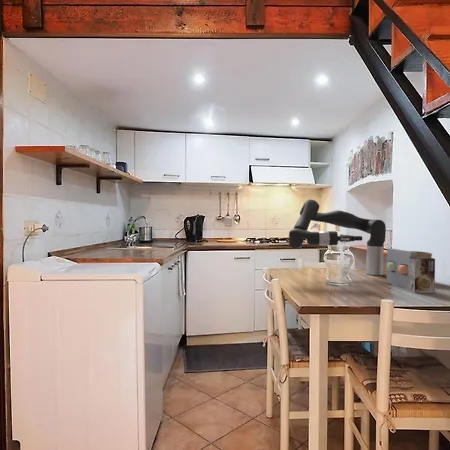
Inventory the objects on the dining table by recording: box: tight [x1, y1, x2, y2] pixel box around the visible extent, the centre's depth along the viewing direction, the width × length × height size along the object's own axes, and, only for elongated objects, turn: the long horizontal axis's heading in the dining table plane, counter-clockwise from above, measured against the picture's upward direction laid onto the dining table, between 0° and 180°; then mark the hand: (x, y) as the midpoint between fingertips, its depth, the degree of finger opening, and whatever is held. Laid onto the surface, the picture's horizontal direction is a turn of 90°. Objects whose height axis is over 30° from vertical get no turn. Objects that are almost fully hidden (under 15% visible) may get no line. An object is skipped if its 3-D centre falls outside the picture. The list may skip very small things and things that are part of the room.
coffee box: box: [408, 257, 436, 294], centre depth 163 cm, size 9×6×16 cm
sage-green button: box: [385, 262, 395, 271], centre depth 182 cm, size 4×7×4 cm, turn 96°
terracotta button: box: [398, 265, 408, 274], centre depth 172 cm, size 4×7×4 cm, turn 96°
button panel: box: [386, 248, 417, 291], centre depth 177 cm, size 20×3×18 cm, turn 6°
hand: (361, 238), depth 181 cm, fingers closed
